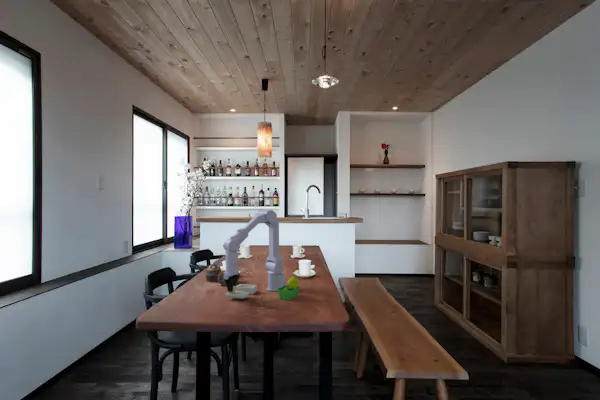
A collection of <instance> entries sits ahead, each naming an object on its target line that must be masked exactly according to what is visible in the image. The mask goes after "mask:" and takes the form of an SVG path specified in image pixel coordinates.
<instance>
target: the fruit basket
mask: <svg viewBox="0 0 600 400" xmlns="http://www.w3.org/2000/svg"><path fill="white" fill-rule="evenodd" d="M286 281H287V282H286V283H287V284H286V286H284V287H281V288H278V289H277V291H276V292H277V294H278V296H279V300H282V301H283V300H284V301H290V300H293V299H296V298H298V296H299V292H300V289H301V286H300V285H299V277H298V276H297V275H293V276H292V277H291V278H289V279H288V280H286Z"/></svg>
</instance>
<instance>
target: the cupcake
mask: <svg viewBox="0 0 600 400" xmlns="http://www.w3.org/2000/svg"><path fill="white" fill-rule="evenodd" d="M221 271H222V268H221V265H220V264H219V263H218V264H216V263H214V264H210V265H209V266H208V268H207V269H206V272H205V273H204V274H205V280H206V282H207V283H217V282H218V274H219V273H220V272H221ZM218 283H219V282H218Z"/></svg>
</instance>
